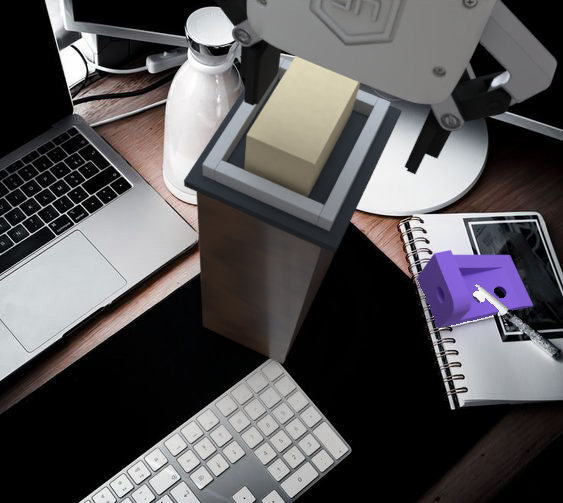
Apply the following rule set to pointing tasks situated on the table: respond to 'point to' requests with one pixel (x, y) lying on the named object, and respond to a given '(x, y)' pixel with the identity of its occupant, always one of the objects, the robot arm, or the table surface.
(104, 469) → the table surface
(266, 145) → the beige rectangular block
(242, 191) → the base pad
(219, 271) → the riser
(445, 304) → the bracket
